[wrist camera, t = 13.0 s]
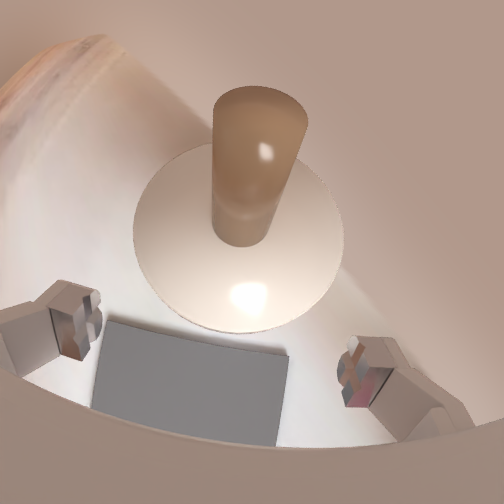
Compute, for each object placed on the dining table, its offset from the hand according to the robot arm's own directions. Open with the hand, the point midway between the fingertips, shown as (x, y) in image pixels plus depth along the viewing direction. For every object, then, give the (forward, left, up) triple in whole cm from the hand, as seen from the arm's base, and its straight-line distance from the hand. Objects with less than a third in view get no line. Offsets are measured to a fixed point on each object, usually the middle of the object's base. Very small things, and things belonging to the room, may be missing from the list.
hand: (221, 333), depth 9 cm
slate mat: (-2, -7, -16) cm, 18 cm away
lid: (0, +7, -6) cm, 9 cm away
